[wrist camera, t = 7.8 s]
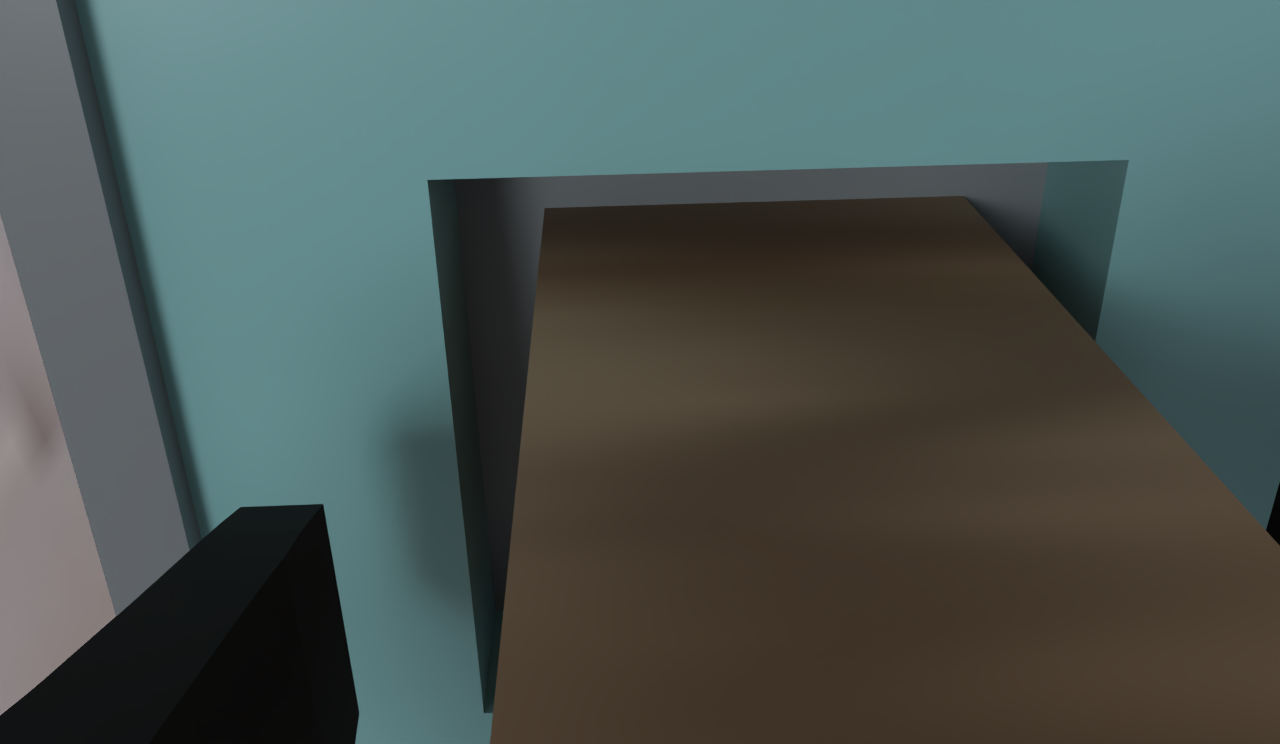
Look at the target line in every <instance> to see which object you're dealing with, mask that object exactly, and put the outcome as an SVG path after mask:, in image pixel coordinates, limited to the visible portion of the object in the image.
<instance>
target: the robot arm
mask: <svg viewBox="0 0 1280 744" xmlns="http://www.w3.org/2000/svg"><path fill="white" fill-rule="evenodd" d="M1266 531H1267V532H1268V533H1269V534H1270V536H1271V537H1272V538H1273V539H1274V540H1275V541H1276V542H1277V543H1278V544H1279V546H1280V483H1279V486H1278V490H1277V493H1276V497H1275V500H1274V504H1273V507H1272V511H1271V514H1270V518H1269V521H1268V525H1267V528H1266ZM358 720H359V708H358V702H357V696H356V691H355V685H354V679H353V673H352V667H351V662H350V656H349V650H348V644H347V638H346V633H345V627H344V621H343V615H342V610H341V604H340V598H339V592H338V586H337V581H336V575H335V569H334V563H333V557H332V552H331V546H330V540H329V534H328V528H327V523H326V517H325V511H324V505H323V504H308V505H280V506H253V507H240V508H239V509H237V510H236V511H235V512H234V513H232V514H231V515H230V516H229V517H227V518H226V519H225V520H224V521H223V522H221V523H220V524H219V525H218V526H217V527H216V528H214V529H213V530H212V531H211V532H210V533H209V534H208V535H206V536H205V537H204V538H203V539H202V540H201V541H200V542H199V543H197V544H196V545H195V546H194V547H193V548H192V549H191V550H190V551H188V552H187V553H186V554H185V555H184V556H183V557H182V558H181V559H180V560H178V561H177V562H176V563H175V564H174V565H173V566H172V567H171V568H170V569H169V570H167V571H166V572H165V573H164V574H163V575H162V576H161V577H160V578H159V579H157V580H156V581H155V582H154V583H153V584H152V585H151V586H150V587H149V588H147V589H146V590H145V591H144V592H143V593H142V594H141V595H140V596H139V597H137V598H136V599H135V600H134V601H133V602H132V603H131V604H130V605H129V606H127V607H126V608H125V609H124V610H123V611H122V612H121V613H120V614H118V615H117V616H116V617H115V618H114V619H113V620H112V621H110V622H109V623H108V624H107V625H106V626H105V627H104V628H102V629H101V630H100V631H99V632H98V633H97V634H96V635H94V636H93V637H92V638H91V639H90V640H89V641H88V642H86V643H85V644H84V645H83V646H82V647H81V648H80V649H78V650H77V651H76V652H75V653H74V654H73V655H72V656H70V657H69V658H68V659H67V660H66V661H65V662H64V663H62V664H61V665H60V666H59V667H58V668H57V669H56V670H54V671H53V672H52V673H51V674H50V675H49V676H48V677H46V678H45V679H44V680H43V681H42V682H41V683H40V684H38V685H37V686H36V687H35V688H34V689H32V690H31V691H30V692H29V693H28V694H27V695H25V696H24V697H23V698H22V699H20V700H19V701H18V702H17V703H15V704H14V705H13V706H12V707H10V708H9V709H8V710H7V711H5V712H4V713H3V714H2V715H0V744H355V741H356V734H357V727H358Z"/></svg>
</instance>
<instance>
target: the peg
mask: <svg viewBox="0 0 1280 744" xmlns="http://www.w3.org/2000/svg"><path fill="white" fill-rule="evenodd" d="M490 744H1280V546H1279V544H1278V543H1277V542H1276V541H1275V540H1274V539H1273V538H1272V537H1271V536H1270V534H1269V533H1268V532H1267V531H1266V530H1265V529H1264V528H1263V527H1262V526H1261V525H1260V523H1259V522H1258V521H1257V520H1256V519H1255V518H1254V517H1253V516H1252V515H1251V513H1250V512H1249V511H1248V510H1247V509H1246V508H1245V507H1244V506H1243V505H1242V504H1241V502H1240V501H1239V500H1238V499H1237V498H1236V497H1235V496H1234V495H1233V494H1232V492H1231V491H1230V490H1229V489H1228V488H1227V487H1226V486H1225V485H1224V484H1223V482H1222V481H1221V480H1220V479H1219V478H1218V477H1217V476H1216V475H1215V474H1214V473H1213V471H1212V470H1211V469H1210V468H1209V467H1208V466H1207V465H1206V464H1205V463H1204V461H1203V460H1202V459H1201V458H1200V457H1199V456H1198V455H1197V454H1196V453H1195V452H1194V450H1193V449H1192V448H1191V447H1190V446H1189V445H1188V444H1187V443H1186V442H1185V440H1184V439H1183V438H1182V437H1181V436H1180V435H1179V434H1178V433H1177V432H1176V431H1175V429H1174V428H1173V427H1172V426H1171V425H1170V424H1169V423H1168V422H1167V421H1166V419H1165V418H1164V417H1163V416H1162V415H1161V414H1160V413H1159V412H1158V411H1157V410H1156V408H1155V407H1154V406H1153V405H1152V404H1151V403H1150V402H1149V401H1148V400H1147V398H1146V397H1145V396H1144V395H1143V394H1142V393H1141V392H1140V391H1139V390H1138V388H1137V387H1136V386H1135V385H1134V384H1133V383H1132V382H1131V381H1130V380H1129V379H1128V377H1127V376H1126V375H1125V374H1124V373H1123V372H1122V371H1121V370H1120V369H1119V367H1118V366H1117V365H1116V364H1115V363H1114V362H1113V361H1112V360H1111V359H1110V358H1109V356H1108V355H1107V354H1106V353H1105V352H1104V351H1103V350H1102V349H1101V348H1100V346H1099V345H1098V344H1097V343H1096V342H1095V341H1094V340H1093V339H1092V338H1091V337H1090V335H1089V334H1088V333H1087V332H1086V331H1085V330H1084V329H1083V328H1082V327H1081V325H1080V324H1079V323H1078V322H1077V321H1076V320H1075V319H1074V318H1073V317H1072V315H1071V314H1070V313H1069V312H1068V311H1067V310H1066V309H1065V308H1064V307H1063V306H1062V304H1061V303H1060V302H1059V301H1058V300H1057V299H1056V298H1055V297H1054V296H1053V294H1052V293H1051V292H1050V291H1049V290H1048V289H1047V288H1046V287H1045V286H1044V285H1043V283H1042V282H1041V281H1040V280H1039V279H1038V278H1037V277H1036V276H1035V275H1034V273H1033V272H1032V271H1031V270H1030V269H1029V268H1028V267H1027V266H1026V265H1025V264H1024V262H1023V261H1022V260H1021V259H1020V258H1019V257H1018V256H1017V255H1016V254H1015V252H1014V251H1013V250H1012V249H1011V248H1010V247H1009V246H1008V245H1007V244H1006V243H1005V241H1004V240H1003V239H1002V238H1001V237H1000V236H999V235H998V234H997V233H996V231H995V230H994V229H993V228H992V227H991V226H990V225H989V224H988V223H987V221H986V220H985V219H984V218H983V217H982V216H981V215H980V214H979V213H978V212H977V210H976V209H975V208H974V207H973V206H972V205H971V204H970V203H969V202H968V200H967V199H966V198H965V197H964V196H939V197H905V198H871V199H836V200H802V201H768V202H734V203H699V204H665V205H631V206H596V207H562V208H545V209H544V219H543V228H542V238H541V248H540V258H539V268H538V277H537V287H536V297H535V307H534V317H533V326H532V336H531V346H530V356H529V366H528V376H527V385H526V395H525V405H524V415H523V425H522V434H521V444H520V454H519V464H518V474H517V483H516V493H515V503H514V513H513V523H512V532H511V542H510V552H509V562H508V572H507V581H506V591H505V601H504V611H503V621H502V630H501V640H500V650H499V660H498V670H497V680H496V689H495V699H494V709H493V719H492V729H491V738H490Z"/></svg>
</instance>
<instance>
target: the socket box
mask: <svg viewBox="0 0 1280 744" xmlns="http://www.w3.org/2000/svg"><path fill="white" fill-rule="evenodd" d="M939 196H964V197H965V198H966V199H967V200H968V202H969V203H970V204H971V205H972V206H973V207H974V208H975V209H976V210H977V212H978V213H979V214H980V215H981V216H982V217H983V218H984V219H985V220H986V221H987V223H988V224H989V225H990V226H991V227H992V228H993V229H994V230H995V231H996V233H997V234H998V235H999V236H1000V237H1001V238H1002V239H1003V240H1004V241H1005V243H1006V244H1007V245H1008V246H1009V247H1010V248H1011V249H1012V250H1013V251H1014V252H1015V254H1016V255H1017V256H1018V257H1019V258H1020V259H1021V260H1022V261H1023V262H1024V264H1025V265H1026V266H1027V267H1028V268H1029V269H1030V270H1031V271H1032V272H1033V273H1034V275H1035V276H1036V277H1037V278H1038V279H1039V280H1040V281H1041V282H1042V283H1043V285H1044V286H1045V287H1046V288H1047V289H1048V290H1049V291H1050V292H1051V293H1052V294H1053V296H1054V297H1055V298H1056V299H1057V300H1058V301H1059V302H1060V303H1061V304H1062V306H1063V307H1064V308H1065V309H1066V310H1067V311H1068V312H1069V313H1070V314H1071V315H1072V317H1073V318H1074V319H1075V320H1076V321H1077V322H1078V323H1079V324H1080V325H1081V327H1082V328H1083V329H1084V330H1085V331H1086V332H1087V333H1088V334H1089V335H1090V337H1091V338H1092V339H1093V340H1094V341H1095V342H1096V343H1097V344H1098V345H1099V346H1100V348H1101V349H1102V350H1103V351H1104V352H1105V353H1106V354H1107V355H1108V356H1109V358H1110V359H1111V360H1112V361H1113V362H1114V363H1115V364H1116V365H1117V366H1118V367H1119V369H1120V370H1121V371H1122V372H1123V373H1124V374H1125V375H1126V376H1127V377H1128V379H1129V380H1130V381H1131V382H1132V383H1133V384H1134V385H1135V386H1136V387H1137V388H1138V390H1139V391H1140V392H1141V393H1142V394H1143V395H1144V396H1145V397H1146V398H1147V400H1148V401H1149V402H1150V403H1151V404H1152V405H1153V406H1154V407H1155V408H1156V410H1157V411H1158V412H1159V413H1160V414H1161V415H1162V416H1163V417H1164V418H1165V419H1166V421H1167V422H1168V423H1169V424H1170V425H1171V426H1172V427H1173V428H1174V429H1175V431H1176V432H1177V433H1178V434H1179V435H1180V436H1181V437H1182V438H1183V439H1184V440H1185V442H1186V443H1187V444H1188V445H1189V446H1190V447H1191V448H1192V449H1193V450H1194V452H1195V453H1196V454H1197V455H1198V456H1199V457H1200V458H1201V459H1202V460H1203V461H1204V463H1205V464H1206V465H1207V466H1208V467H1209V468H1210V469H1211V470H1212V471H1213V473H1214V474H1215V475H1216V476H1217V477H1218V478H1219V479H1220V480H1221V481H1222V482H1223V484H1224V485H1225V486H1226V487H1227V488H1228V489H1229V490H1230V491H1231V492H1232V494H1233V495H1234V496H1235V497H1236V498H1237V499H1238V500H1239V501H1240V502H1241V504H1242V505H1243V506H1244V507H1245V508H1246V509H1247V510H1248V511H1249V512H1250V513H1251V515H1252V516H1253V517H1254V518H1255V519H1256V520H1257V521H1258V522H1259V523H1260V525H1261V526H1262V527H1263V528H1264V529H1265V530H1266V528H1267V525H1268V521H1269V518H1270V514H1271V511H1272V507H1273V504H1274V500H1275V497H1276V493H1277V490H1278V486H1279V483H1280V0H0V214H1V217H2V221H3V224H4V228H5V231H6V235H7V238H8V242H9V245H10V249H11V252H12V256H13V259H14V263H15V266H16V269H17V273H18V276H19V280H20V283H21V287H22V290H23V294H24V297H25V301H26V304H27V308H28V311H29V315H30V318H31V322H32V325H33V328H34V332H35V335H36V339H37V342H38V346H39V349H40V353H41V356H42V360H43V363H44V367H45V370H46V374H47V377H48V381H49V384H50V388H51V391H52V394H53V398H54V401H55V405H56V408H57V412H58V415H59V419H60V422H61V426H62V429H63V433H64V436H65V440H66V443H67V447H68V450H69V453H70V457H71V460H72V464H73V467H74V471H75V474H76V478H77V481H78V485H79V488H80V492H81V495H82V499H83V502H84V506H85V509H86V513H87V516H88V519H89V523H90V526H91V530H92V533H93V537H94V540H95V544H96V547H97V551H98V554H99V558H100V561H101V565H102V568H103V572H104V575H105V578H106V582H107V585H108V589H109V592H110V596H111V599H112V603H113V606H114V610H115V613H116V616H117V615H118V614H120V613H121V612H122V611H123V610H124V609H125V608H126V607H127V606H129V605H130V604H131V603H132V602H133V601H134V600H135V599H136V598H137V597H139V596H140V595H141V594H142V593H143V592H144V591H145V590H146V589H147V588H149V587H150V586H151V585H152V584H153V583H154V582H155V581H156V580H157V579H159V578H160V577H161V576H162V575H163V574H164V573H165V572H166V571H167V570H169V569H170V568H171V567H172V566H173V565H174V564H175V563H176V562H177V561H178V560H180V559H181V558H182V557H183V556H184V555H185V554H186V553H187V552H188V551H190V550H191V549H192V548H193V547H194V546H195V545H196V544H197V543H199V542H200V541H201V540H202V539H203V538H204V537H205V536H206V535H208V534H209V533H210V532H211V531H212V530H213V529H214V528H216V527H217V526H218V525H219V524H220V523H221V522H223V521H224V520H225V519H226V518H227V517H229V516H230V515H231V514H232V513H234V512H235V511H236V510H237V509H239V508H240V507H253V506H280V505H308V504H323V505H324V511H325V517H326V523H327V528H328V534H329V540H330V546H331V552H332V557H333V563H334V569H335V575H336V581H337V586H338V592H339V598H340V604H341V610H342V615H343V621H344V627H345V633H346V638H347V644H348V650H349V656H350V662H351V667H352V673H353V679H354V685H355V691H356V696H357V702H358V708H359V720H358V727H357V734H356V741H355V744H490V738H491V729H492V719H493V709H494V699H495V689H496V680H497V670H498V660H499V650H500V640H501V630H502V621H503V611H504V601H505V591H506V581H507V572H508V562H509V552H510V542H511V532H512V523H513V513H514V503H515V493H516V483H517V474H518V464H519V454H520V444H521V434H522V425H523V415H524V405H525V395H526V385H527V376H528V366H529V356H530V346H531V336H532V326H533V317H534V307H535V297H536V287H537V277H538V268H539V258H540V248H541V238H542V228H543V219H544V209H545V208H562V207H596V206H631V205H665V204H699V203H734V202H768V201H802V200H836V199H871V198H905V197H939Z"/></svg>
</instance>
